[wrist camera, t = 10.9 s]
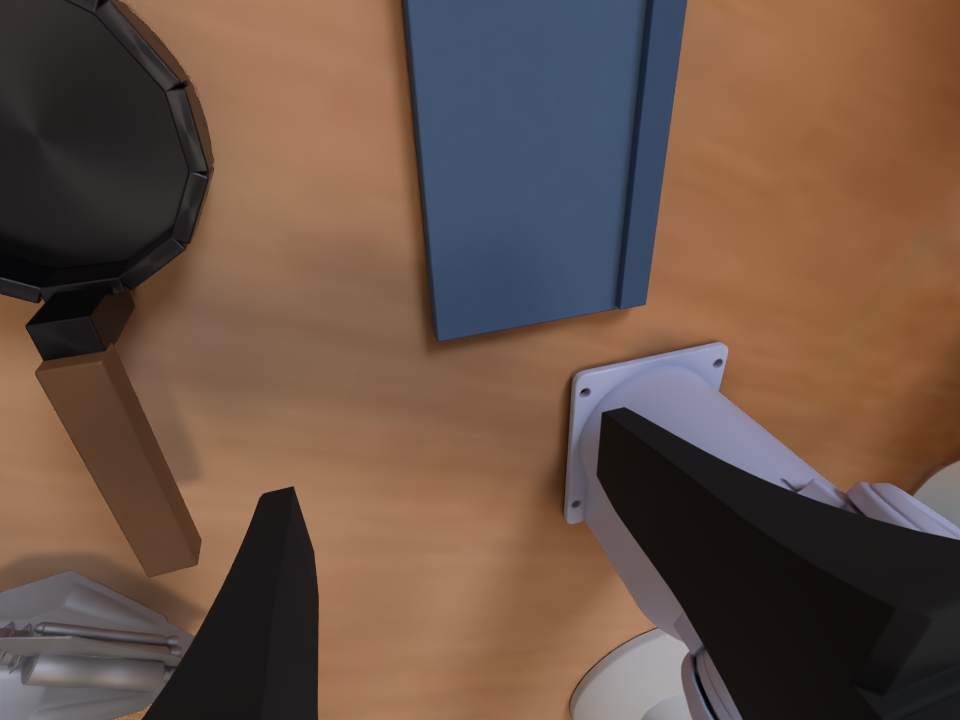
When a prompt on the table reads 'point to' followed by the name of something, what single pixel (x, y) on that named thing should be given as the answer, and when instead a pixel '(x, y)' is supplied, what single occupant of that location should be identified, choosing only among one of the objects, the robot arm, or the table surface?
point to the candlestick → (635, 682)
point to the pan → (99, 231)
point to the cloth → (539, 153)
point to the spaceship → (81, 651)
